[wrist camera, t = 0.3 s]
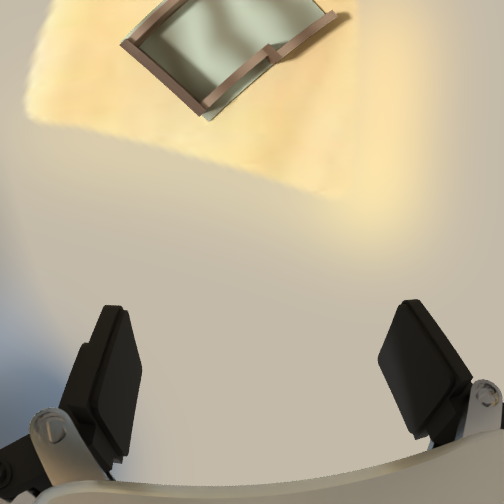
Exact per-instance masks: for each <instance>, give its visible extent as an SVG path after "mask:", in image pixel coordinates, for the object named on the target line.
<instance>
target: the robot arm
mask: <svg viewBox="0 0 504 504" xmlns="http://www.w3.org/2000/svg"><path fill="white" fill-rule="evenodd" d="M378 364H379V366H380V368H381V370H382V373H383V375H384V377H385V379H386V381H387V383H388V385H389V388H390V390H391V392H392V394H393V396H394V399H395V401H396V403H397V405H398V408H399V410H400V412H401V415H402V417H403V419H404V421H405V424H406V426H407V428H408V431H409V432H410V433H412V434H413V435H414V438H415V440H417V439H420V438H423V437H426V436H428V435H429V436H430V439H431V440H430V443H429V446H428V449H427V451H425V452H422V453H419V454H416V455H413V456H410V457H407V458H403V459H400V460H396V461H393V462H389V463H385V464H382V465H378V466H374V467H369V468H365V469H361V470H357V471H352V472H347V473H342V474H337V475H332V476H326V477H320V478H314V479H307V480H300V481H292V482H283V483H273V484H261V485H246V486H177V485H176V486H175V485H158V484H146V483H134V482H133V483H132V482H121V481H116V480H115V478H114V477H113V475H112V474H111V473H110V470H112V465H113V462H114V463H121V464H122V460H123V456H127V455H128V453H129V447H130V440H131V433H132V427H133V420H134V415H135V409H136V403H137V397H138V392H139V386H140V381H141V376H142V365H141V361H140V357H139V354H138V350H137V346H136V342H135V338H134V334H133V330H132V326H131V322H130V318H129V313H128V311H127V310H123V308H122V306H116V305H115V306H114V305H105V306H104V307H103V309H102V312H101V314H100V316H99V319H98V321H97V323H96V326H95V328H94V331H93V333H92V336H91V338H90V341H89V343H84V344H82V346H81V347H80V350H79V352H78V355H77V357H76V360H75V363H74V365H73V368H72V371H71V373H70V376H69V379H68V381H67V384H66V387H65V390H64V393H63V395H62V398H61V401H60V404H59V407H58V408H46V409H43V410H41V411H39V412H38V413H36V414H35V416H34V417H33V418H32V420H31V422H30V424H29V434H28V435H26V436H24V437H22V438H21V439H19V440H17V441H15V442H13V443H12V444H10V445H8V446H6V447H4V448H2V449H0V504H504V403H503V402H502V394H501V391H500V390H499V388H498V387H497V386H496V385H495V384H494V383H492V382H490V381H488V380H484V379H482V380H478V381H475V382H474V383H473V384H472V383H471V380H472V378H473V376H472V375H471V373H470V371H469V370H468V368H467V367H466V365H465V364H464V362H463V361H462V359H461V358H460V356H459V355H458V353H457V352H456V350H455V349H454V347H453V346H452V345H451V343H450V342H449V340H448V339H447V337H446V336H445V334H444V333H443V332H442V330H441V329H440V327H439V326H438V324H437V323H436V322H435V320H434V319H433V318H432V316H431V315H430V313H429V312H428V311H427V310H426V308H425V307H424V305H423V304H422V303H421V301H420V300H418V299H414V300H404V301H403V302H402V304H401V305H399V306H398V308H397V311H396V313H395V316H394V318H393V321H392V324H391V326H390V329H389V331H388V334H387V336H386V339H385V341H384V343H383V346H382V348H381V350H380V353H379V355H378Z"/></svg>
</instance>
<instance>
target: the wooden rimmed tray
mask: <svg viewBox="0 0 504 504" xmlns="http://www.w3.org/2000/svg"><path fill="white" fill-rule="evenodd" d="M337 17H338V16H337V15H336V14H335V12H334V11H333V10H332V11H330V12H328V13H327V14H324V12H323V11H322V10H321V9H320V8H319V7H318V6H317V5H316V4H315V3H314V2H313V1H312V0H164V1H163V2H161V3H160V4H159V5H158V6H157V7H156V8H155V9H154V10H153V11H152V12H150V13H149V14H148V15H147V16H146V17H145V18H144V19H143V20H142V21H141V22H140V23H139V24H138V25H137V26H136V27H135V28H134V29H133V30H132V31H131V32H130V33H129V34H128V35H127V36H126V37H125V38H124V39H123V40H122V41H121V44H120V46H121V47H122V48H123V49H125V50H126V51H127V52H128V53H129V54H130V55H132V56H133V57H134V58H135V59H136V60H137V61H138V62H140V63H141V64H142V65H143V66H144V67H145V68H146V69H148V70H149V71H150V72H151V73H152V74H153V75H154V76H155V77H157V78H158V79H159V80H160V81H161V82H162V83H163V84H164V85H165V86H167V87H168V88H169V89H170V90H171V91H172V92H173V93H174V94H175V95H176V96H178V97H179V98H180V99H181V100H182V101H183V102H184V103H185V104H186V105H187V106H188V107H189V108H190V109H192V110H193V111H194V112H195V113H196V114H197V115H198V116H199V117H200V116H201V115H202V116H203V117H204V118H205V119H206V120H207V121H208V122H209V121H210V120H211V119H212V118H213V117H214V116H215V115H216V114H218V113H219V112H220V111H221V110H222V109H223V108H224V107H225V106H226V105H227V104H228V103H229V102H230V101H232V100H233V99H234V98H235V97H236V96H237V95H238V94H239V93H240V92H242V91H243V90H244V89H245V88H246V87H247V86H248V85H250V84H251V83H252V82H253V81H254V80H255V79H256V78H258V77H259V76H260V75H261V74H262V73H264V72H265V71H266V70H267V69H268V68H269V67H271V66H272V65H274V64H276V63H277V62H278V61H280V60H281V59H282V58H283V57H284V56H286V55H287V54H288V53H290V52H291V51H292V50H293V49H295V48H296V47H297V46H298V45H300V44H301V43H302V42H304V41H305V40H306V39H308V38H309V37H310V36H312V35H313V34H314V33H316V32H317V31H318V30H320V29H321V28H323V27H324V26H325V25H327V24H328V23H330V22H331V21H332V20H334V19H335V18H337Z"/></svg>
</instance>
